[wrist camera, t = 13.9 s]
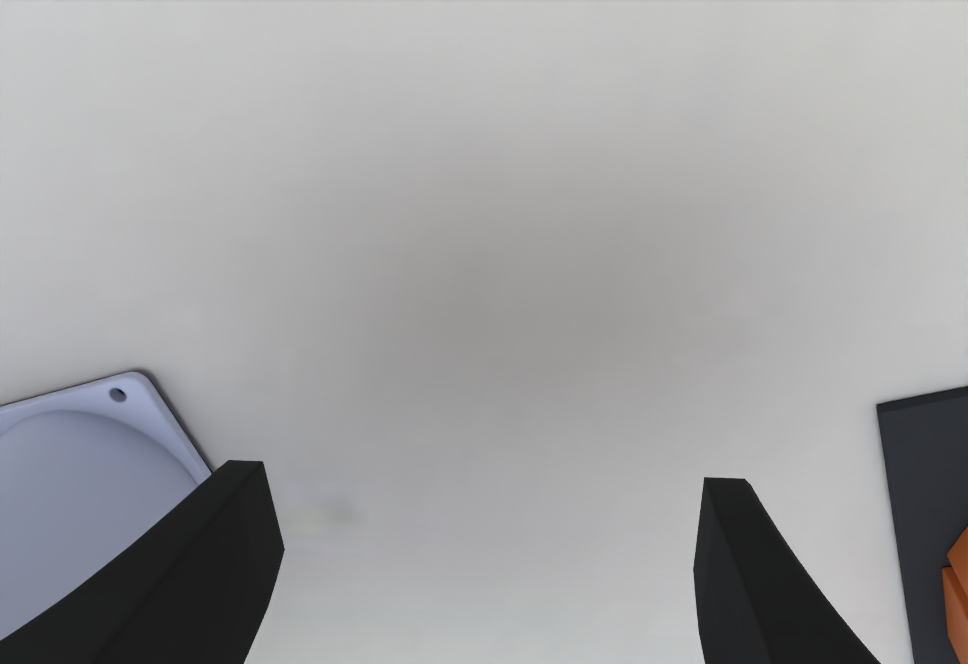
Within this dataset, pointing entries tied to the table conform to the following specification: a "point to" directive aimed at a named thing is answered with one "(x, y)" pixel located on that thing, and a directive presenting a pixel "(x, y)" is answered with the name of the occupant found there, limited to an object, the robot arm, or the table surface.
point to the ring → (957, 596)
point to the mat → (927, 506)
